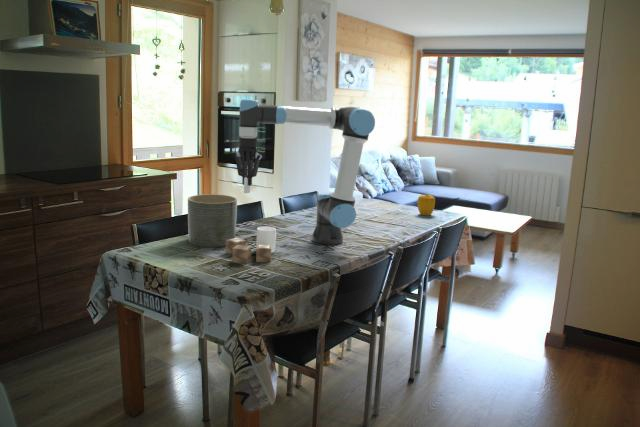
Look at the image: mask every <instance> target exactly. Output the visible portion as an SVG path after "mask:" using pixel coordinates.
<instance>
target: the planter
mask: <svg viewBox="0 0 640 427" xmlns="http://www.w3.org/2000/svg"><path fill="white" fill-rule="evenodd" d="M237 213H238V199H237V197H235V196H233V195H227V194H215V193H214V194H212V193H211V194H210V193H208V194H196V195H191V196H188V198H187V226H188V227H187V228H188V229H187V231H188V243H189V244H191V245H193V246H197V247H202V248H221V247H226V240H229V239H233V238H237V237H236V233H237V216H238V214H237Z"/></svg>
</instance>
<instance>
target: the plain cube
mask: <svg viewBox="0 0 640 427" xmlns="http://www.w3.org/2000/svg"><path fill="white" fill-rule="evenodd" d="M250 261H252V245H246V246H245V245H237V246H235V247H234V248H233V255H232V263H236V264H244V265H247V264H248V263H249V262H250Z"/></svg>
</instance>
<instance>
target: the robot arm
mask: <svg viewBox="0 0 640 427" xmlns="http://www.w3.org/2000/svg"><path fill="white" fill-rule="evenodd" d="M238 110H239V126H238V127H239V129H238V135H239V138H238V141H239V142H238V145H239V146H238V150H237V151H236V152H233V154H232V155H233V157H234V159H235V164H236V171H237V175H238V176H239V177H241V179H242V185H243V193H244V194H250V193H251V186H252V185H253V178H255V177H257V174H258V170H259V166H260V162H261V160H262V158H263V155H262V154H260V153H259V152H258V149H257V147H258V138H257V137H258V125H259V124H270V125H272V124H273V125H283V124H292V125H305V126H307V125H308V126H318V127H321V126H322V127H328V128H329V129H332V130H338V131H339V130H340V131H342V134H341V137H342V138H343V139H344V141H343V147H342V152H341V158H340V162H339V168H338V172H337V177H336V183H335V187H334V192H332V193H320V194H318V196H317V200H316V202H317V205H316V221H315V222H316V225H315V226H314V230H313V233H312V235H311V236H312V237H311V241H312V242H314V243H316V244H321V245H340V244H342V243H343V242H344V235H343V231H342V229H346V228H348V227H351V225H353V223H354V222H355V220H356V217H357V211H356V208H355V203H356V199H355V197H354V193H355V192H354V191H355V186H356V183H357V177H358V172H359V167H360V162H361V157H362V153H363V147H364V144H365V143H367V141H369V136H370V134H371V133H372V132H373V131H374V128H375V126H376V119H375V116H374V114H373V113H372V112H371V111H370V110H369V109H366V108H364V107H359V106H358V107H356V106H347V107H346V106H345V107H331V108H329V109H326V108H325V109H324V108H314V107H313V108H312V107H301V106H300V107H299V106H285V105H275V104H274V105H272V104H259V101H258V100H256V99H241V100H240V102H239V109H238ZM254 158H255V160H254Z"/></svg>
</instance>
